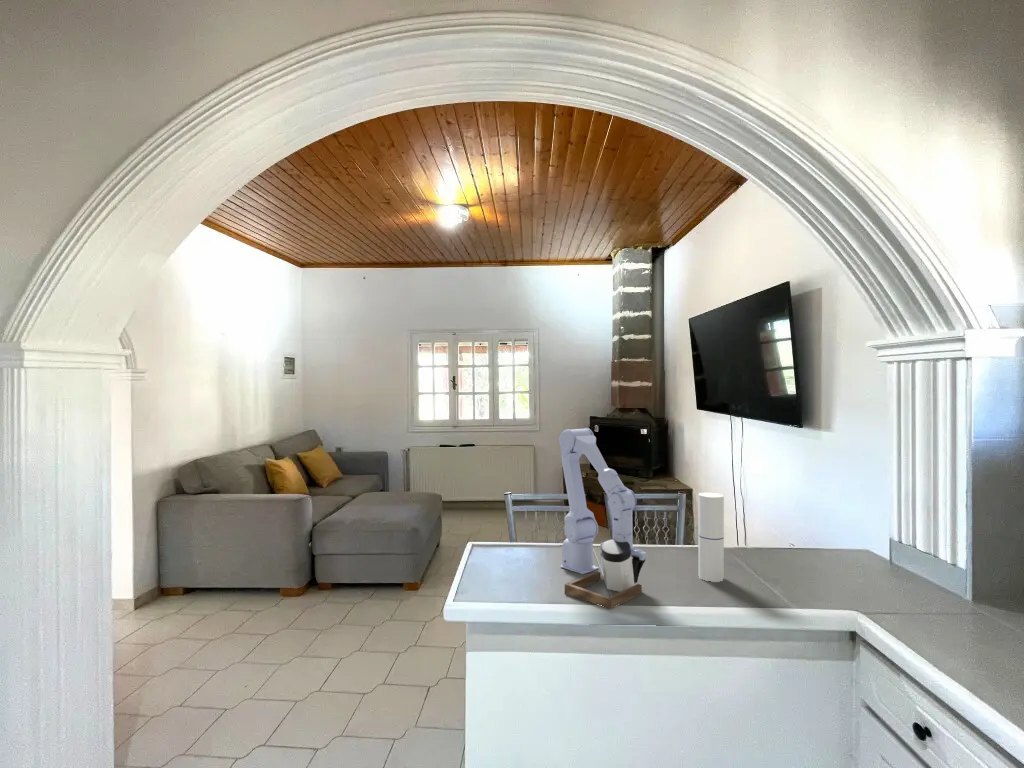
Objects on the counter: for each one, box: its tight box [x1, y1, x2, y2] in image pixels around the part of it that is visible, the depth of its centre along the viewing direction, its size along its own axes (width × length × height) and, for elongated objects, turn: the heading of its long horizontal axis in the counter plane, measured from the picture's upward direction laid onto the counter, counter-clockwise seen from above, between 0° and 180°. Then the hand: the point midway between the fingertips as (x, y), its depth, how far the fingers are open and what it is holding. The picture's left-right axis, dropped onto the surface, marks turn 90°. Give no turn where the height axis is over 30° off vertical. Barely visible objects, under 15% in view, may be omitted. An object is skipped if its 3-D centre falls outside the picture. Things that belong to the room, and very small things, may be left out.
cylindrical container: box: [697, 491, 725, 583], centre depth 166 cm, size 7×7×25 cm
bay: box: [564, 570, 643, 610], centre depth 154 cm, size 15×15×2 cm
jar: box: [600, 538, 635, 593], centre depth 157 cm, size 9×8×12 cm
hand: (622, 579), depth 160 cm, fingers open, 7 cm apart
